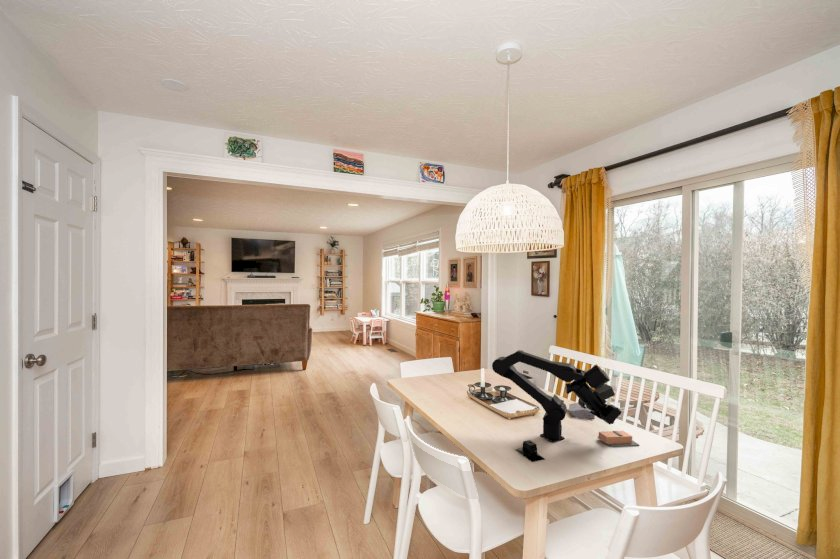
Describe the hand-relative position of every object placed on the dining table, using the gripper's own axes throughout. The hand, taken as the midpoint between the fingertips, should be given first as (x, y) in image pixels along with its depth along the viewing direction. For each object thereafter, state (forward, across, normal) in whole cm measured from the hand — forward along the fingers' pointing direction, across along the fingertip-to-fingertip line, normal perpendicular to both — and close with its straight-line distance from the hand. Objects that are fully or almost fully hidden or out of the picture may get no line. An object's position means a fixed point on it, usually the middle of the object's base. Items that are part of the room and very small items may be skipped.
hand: (612, 422), depth 139 cm
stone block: (+8, +29, +2) cm, 30 cm away
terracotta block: (+1, 0, +7) cm, 7 cm away
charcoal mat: (+7, 0, +3) cm, 7 cm away
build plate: (-19, -7, +30) cm, 37 cm away
